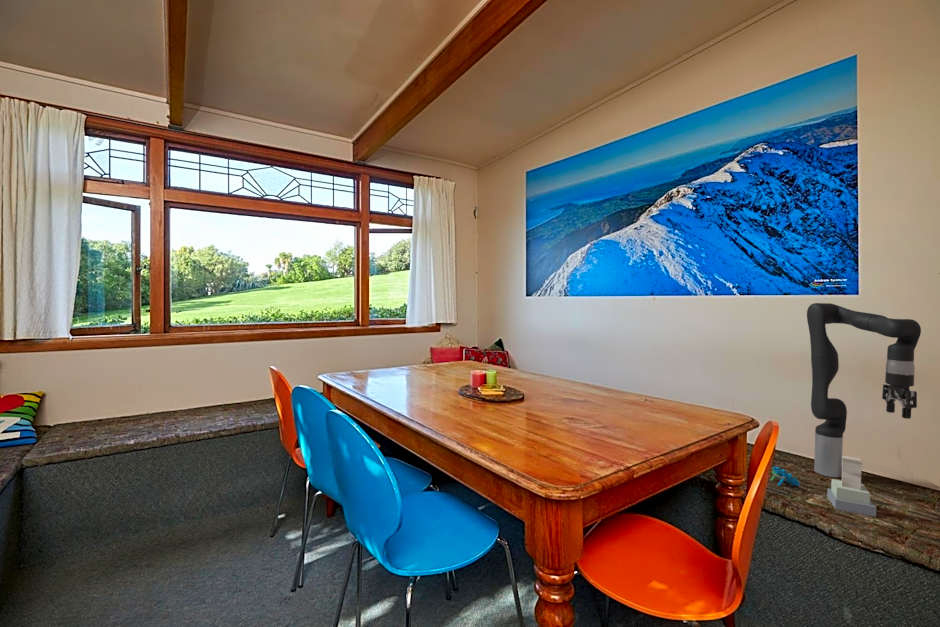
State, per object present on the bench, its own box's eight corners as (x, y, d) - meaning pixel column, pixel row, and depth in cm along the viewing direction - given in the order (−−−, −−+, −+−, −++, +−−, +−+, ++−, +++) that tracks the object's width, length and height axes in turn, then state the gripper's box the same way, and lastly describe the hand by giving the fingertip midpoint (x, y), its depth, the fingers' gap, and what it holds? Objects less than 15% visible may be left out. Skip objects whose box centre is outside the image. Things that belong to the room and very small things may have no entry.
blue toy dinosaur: (806, 486, 167) (788, 468, 167) (797, 497, 166) (779, 479, 166) (784, 478, 178) (767, 462, 178) (775, 489, 177) (758, 472, 177)
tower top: (831, 489, 161) (831, 478, 160) (862, 494, 156) (863, 484, 156) (836, 498, 153) (836, 487, 153) (869, 504, 148) (870, 493, 148)
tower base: (827, 498, 161) (827, 488, 161) (865, 505, 156) (865, 494, 156) (835, 510, 152) (835, 499, 152) (876, 518, 146) (876, 507, 146)
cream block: (841, 481, 158) (842, 455, 157) (859, 485, 154) (860, 458, 154) (842, 486, 154) (842, 459, 153) (860, 490, 151) (861, 462, 150)
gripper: (875, 368, 164) (873, 409, 165) (900, 374, 151) (899, 419, 151) (898, 370, 162) (897, 411, 163) (927, 375, 149) (925, 421, 149)
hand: (898, 415), depth 157 cm, fingers open, 8 cm apart
